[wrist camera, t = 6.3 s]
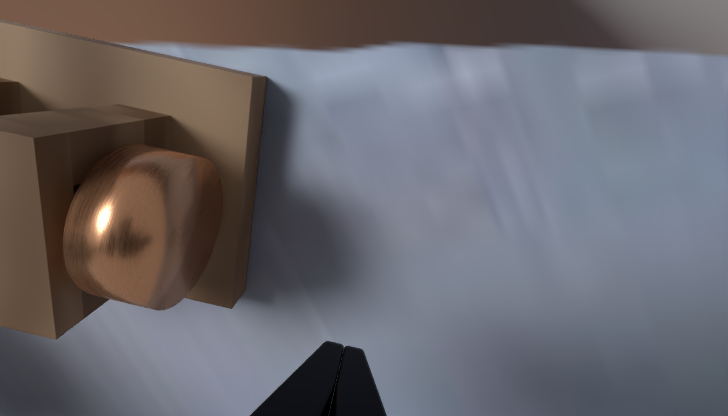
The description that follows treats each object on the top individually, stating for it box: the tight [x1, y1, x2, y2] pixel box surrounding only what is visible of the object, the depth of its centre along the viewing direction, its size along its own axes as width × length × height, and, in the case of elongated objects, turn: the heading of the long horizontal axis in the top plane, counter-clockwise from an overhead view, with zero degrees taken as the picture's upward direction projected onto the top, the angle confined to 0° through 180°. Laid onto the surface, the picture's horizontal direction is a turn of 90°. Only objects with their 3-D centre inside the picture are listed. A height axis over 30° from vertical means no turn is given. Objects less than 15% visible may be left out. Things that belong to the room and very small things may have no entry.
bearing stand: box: [0, 19, 267, 339], centre depth 13 cm, size 14×10×7 cm
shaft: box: [63, 144, 223, 310], centre depth 12 cm, size 12×5×5 cm, turn 79°
